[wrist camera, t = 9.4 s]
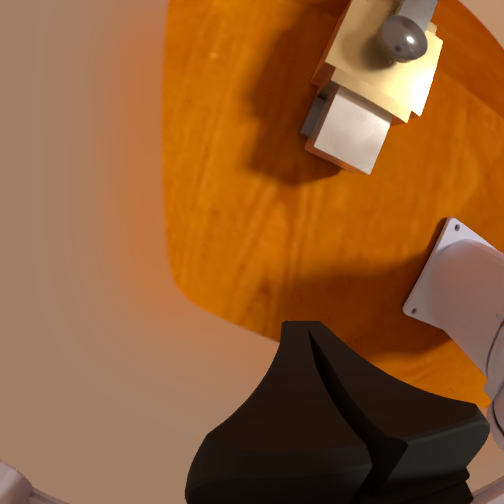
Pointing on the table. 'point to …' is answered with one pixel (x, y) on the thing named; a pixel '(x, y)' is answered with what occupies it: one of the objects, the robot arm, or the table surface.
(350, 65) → the valve
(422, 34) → the lever
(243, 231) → the table surface
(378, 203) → the table surface
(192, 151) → the table surface
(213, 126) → the table surface
